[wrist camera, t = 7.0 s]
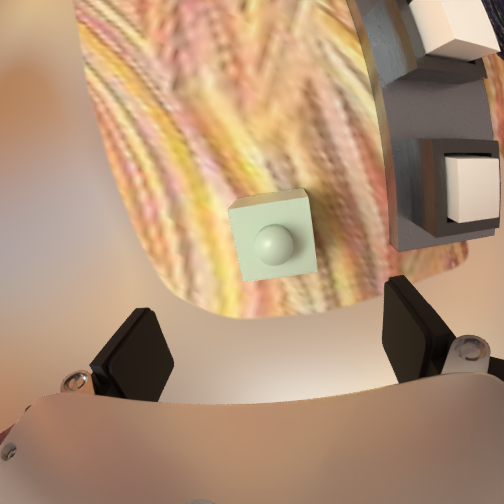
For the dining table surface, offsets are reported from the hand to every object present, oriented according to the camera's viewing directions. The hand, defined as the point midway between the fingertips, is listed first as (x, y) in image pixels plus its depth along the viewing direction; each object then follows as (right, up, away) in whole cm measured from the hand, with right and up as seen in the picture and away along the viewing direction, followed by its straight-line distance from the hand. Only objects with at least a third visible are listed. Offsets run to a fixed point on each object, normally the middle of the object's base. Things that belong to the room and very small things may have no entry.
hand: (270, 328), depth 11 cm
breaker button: (+12, +18, +1) cm, 22 cm away
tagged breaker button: (+14, +9, +7) cm, 18 cm away
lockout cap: (+1, +5, +12) cm, 13 cm away
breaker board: (+14, +15, +7) cm, 22 cm away
